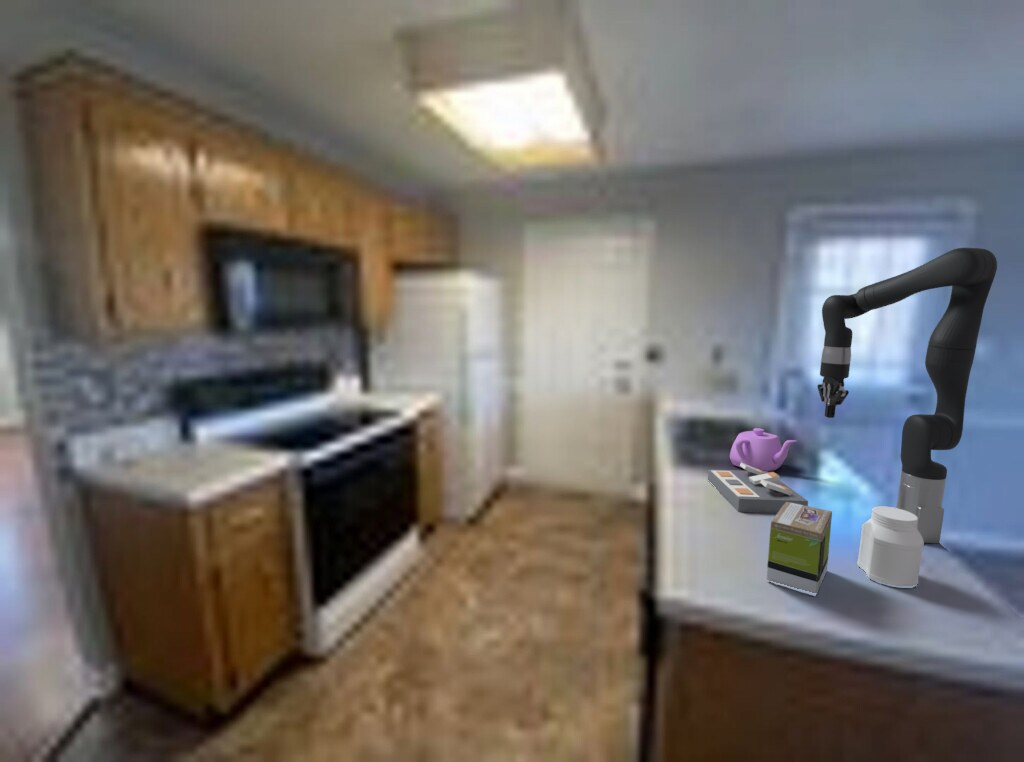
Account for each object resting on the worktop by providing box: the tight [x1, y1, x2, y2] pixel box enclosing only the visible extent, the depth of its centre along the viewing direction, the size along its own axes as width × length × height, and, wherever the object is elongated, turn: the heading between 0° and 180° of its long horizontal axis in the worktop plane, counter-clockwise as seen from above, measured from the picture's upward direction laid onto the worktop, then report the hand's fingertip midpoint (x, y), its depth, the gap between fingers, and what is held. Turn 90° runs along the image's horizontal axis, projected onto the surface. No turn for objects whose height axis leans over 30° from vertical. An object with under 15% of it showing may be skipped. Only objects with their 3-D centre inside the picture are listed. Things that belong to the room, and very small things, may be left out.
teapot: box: [729, 427, 797, 472], centre depth 189 cm, size 23×21×15 cm
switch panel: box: [707, 469, 809, 514], centre depth 164 cm, size 27×20×5 cm
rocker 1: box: [740, 462, 766, 475], centre depth 171 cm, size 4×8×1 cm, turn 87°
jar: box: [856, 505, 925, 586], centre depth 115 cm, size 12×10×15 cm
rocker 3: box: [760, 479, 792, 495], centre depth 155 cm, size 4×8×1 cm, turn 87°
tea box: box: [766, 502, 833, 594], centre depth 114 cm, size 15×10×15 cm
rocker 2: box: [749, 471, 781, 485], centre depth 163 cm, size 4×8×1 cm, turn 87°
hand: (829, 417), depth 158 cm, fingers closed
